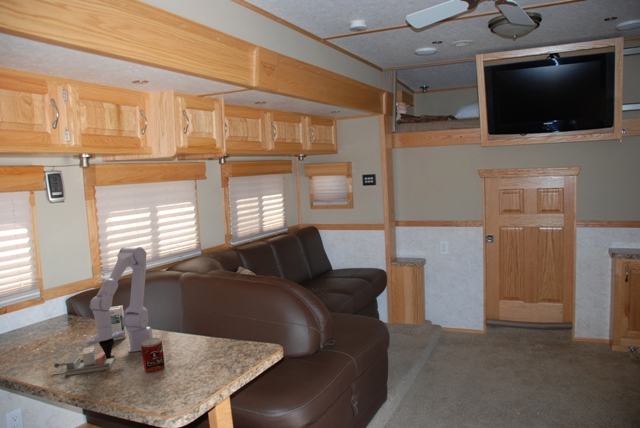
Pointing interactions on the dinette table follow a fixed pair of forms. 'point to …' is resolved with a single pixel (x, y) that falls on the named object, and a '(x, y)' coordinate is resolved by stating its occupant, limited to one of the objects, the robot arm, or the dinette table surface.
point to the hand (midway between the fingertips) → (108, 358)
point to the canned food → (152, 355)
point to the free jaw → (100, 359)
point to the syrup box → (117, 320)
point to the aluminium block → (89, 356)
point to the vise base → (78, 365)
